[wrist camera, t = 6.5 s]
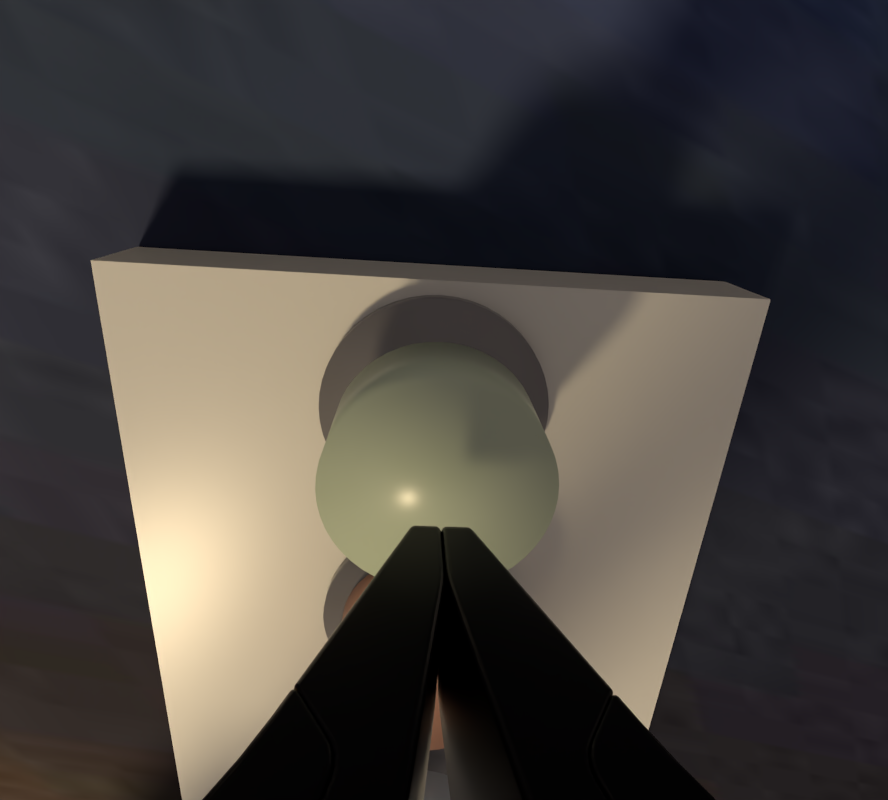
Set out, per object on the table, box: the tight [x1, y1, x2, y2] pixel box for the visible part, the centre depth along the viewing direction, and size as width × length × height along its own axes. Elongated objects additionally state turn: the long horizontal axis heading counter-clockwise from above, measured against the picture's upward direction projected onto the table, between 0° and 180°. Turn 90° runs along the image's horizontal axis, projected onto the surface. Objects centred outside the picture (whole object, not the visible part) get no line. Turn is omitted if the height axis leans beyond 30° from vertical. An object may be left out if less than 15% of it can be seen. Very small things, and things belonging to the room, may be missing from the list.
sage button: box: [315, 342, 559, 576], centre depth 10 cm, size 4×4×2 cm
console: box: [91, 247, 771, 800], centre depth 17 cm, size 23×14×2 cm, turn 176°
